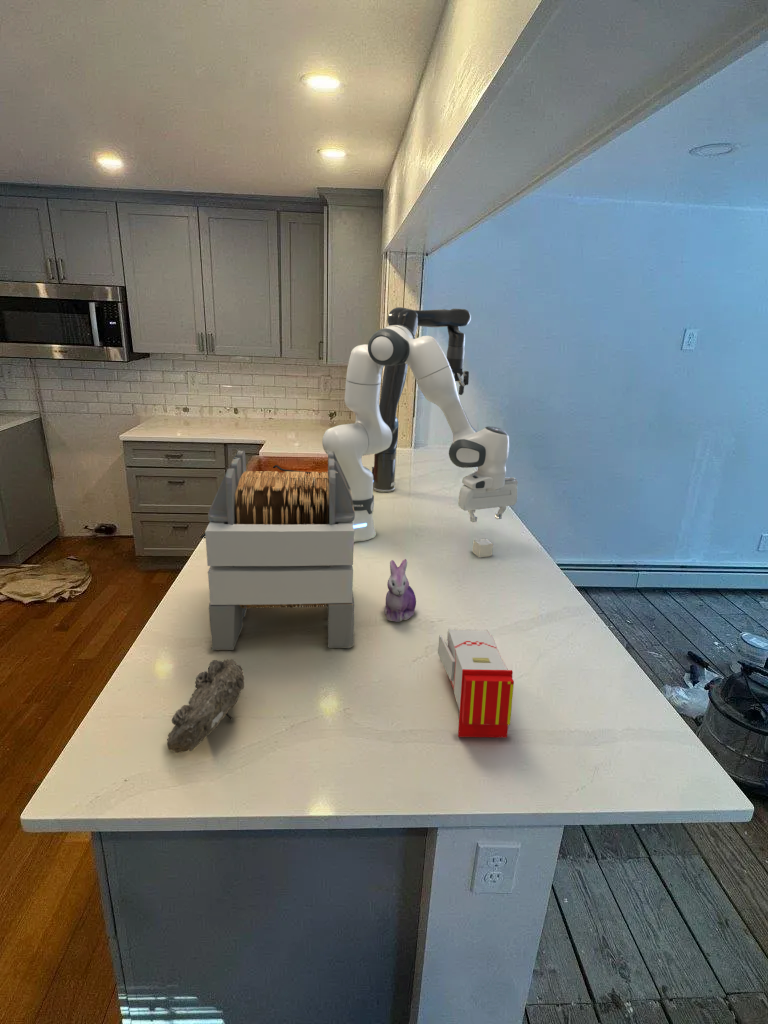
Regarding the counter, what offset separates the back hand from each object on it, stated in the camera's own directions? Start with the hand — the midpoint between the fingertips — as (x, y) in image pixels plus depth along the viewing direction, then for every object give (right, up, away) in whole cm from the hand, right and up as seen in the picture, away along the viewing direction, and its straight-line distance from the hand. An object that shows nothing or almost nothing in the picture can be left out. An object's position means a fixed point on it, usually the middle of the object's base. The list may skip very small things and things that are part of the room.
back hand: (452, 394), depth 252 cm
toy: (-12, -90, -134) cm, 162 cm away
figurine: (-26, -79, -105) cm, 134 cm away
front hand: (+2, -55, -70) cm, 89 cm away
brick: (+2, -66, -66) cm, 93 cm away
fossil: (-63, -91, -144) cm, 182 cm away
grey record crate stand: (-55, -78, -107) cm, 144 cm away
